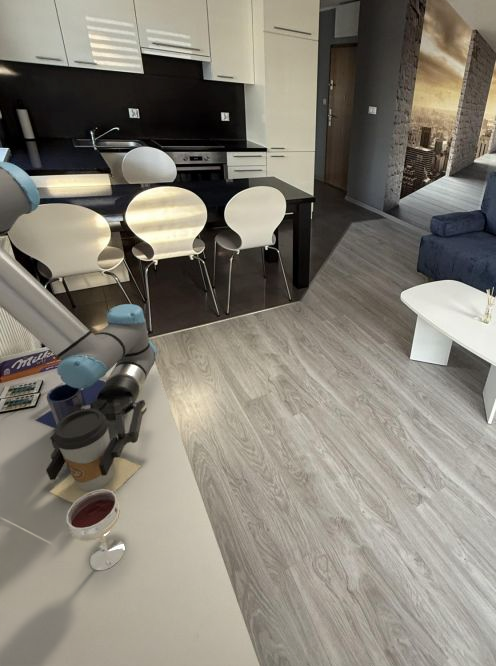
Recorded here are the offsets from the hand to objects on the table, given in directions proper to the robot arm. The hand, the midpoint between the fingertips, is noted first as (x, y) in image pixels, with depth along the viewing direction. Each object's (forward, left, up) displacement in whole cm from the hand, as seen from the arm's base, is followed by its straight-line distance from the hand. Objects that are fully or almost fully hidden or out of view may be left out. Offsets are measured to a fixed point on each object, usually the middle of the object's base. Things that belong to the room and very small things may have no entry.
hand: (77, 472), depth 71 cm
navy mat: (-21, +18, -8) cm, 29 cm away
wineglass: (+12, -6, -8) cm, 15 cm away
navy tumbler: (-18, +12, -8) cm, 23 cm away
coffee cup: (-2, +4, -8) cm, 9 cm away
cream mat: (-2, +4, -8) cm, 9 cm away
